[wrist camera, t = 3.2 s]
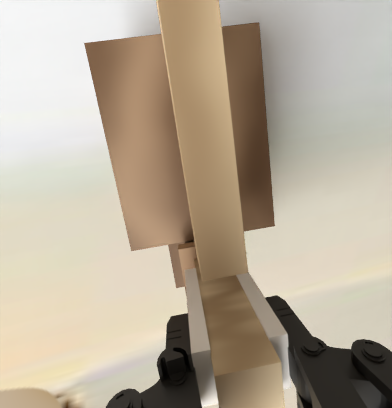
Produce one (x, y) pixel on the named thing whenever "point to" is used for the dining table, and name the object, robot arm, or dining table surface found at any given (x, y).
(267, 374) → the key peg
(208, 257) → the lid
